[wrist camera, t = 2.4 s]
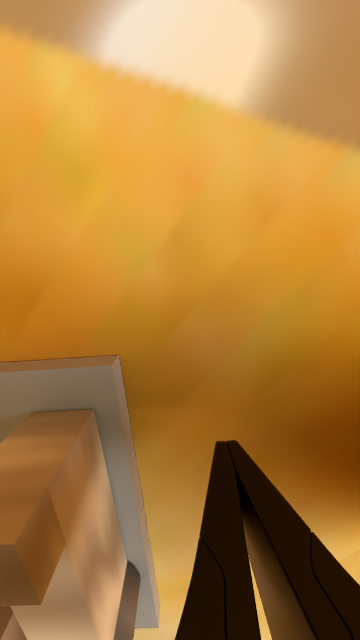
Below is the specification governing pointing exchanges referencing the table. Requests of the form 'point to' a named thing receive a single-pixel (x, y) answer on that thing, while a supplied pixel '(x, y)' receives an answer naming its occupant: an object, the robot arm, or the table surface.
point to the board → (115, 434)
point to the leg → (62, 533)
